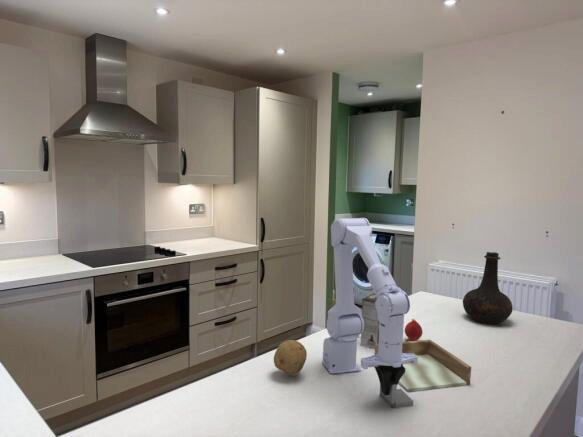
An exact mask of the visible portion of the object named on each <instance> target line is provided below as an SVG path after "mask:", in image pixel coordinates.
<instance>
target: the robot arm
mask: <svg viewBox="0 0 583 437" xmlns="http://www.w3.org/2000/svg"><path fill="white" fill-rule="evenodd" d="M372 234H373V228H372V227H371V224H370V221H369V220H368V219H367V218H366V217H359V218H358V217H355V218H353V217H352V218H349V217H348V218H340V217H337V218H335V219H334V221H333V222H332V224H331V225H330V241H331V242H330V243H331V247H332V248H333V255H334V256H333V259H334V280H335V284H334V285H335V305H333V306H332V307H331V308H330V309H329V310H328V311H327V320H326V331H327V333H328V335H329V337H325V338H324V340H323V347H322V348H323V349H322V350H323V351H322V360H321V362H322V363H323V364H322V365H324V367H325V368H326V370H327V371H328V372H329V373H330V374H331V375H332V374H334V375H335V374H341V373H342V374H343V373H350V372H361V371H362V369H363V370H368V368H374V370H375V372H376V374H377V377H378V380H379V387H380V386H381V392H382V393H383V394H384V395H388V389H389V380H390V378H391V379H392V380H393V381H394V382H395V383H396V384H397V386H398V385H399V383H398V382H399V380H400V379H401V377H402V376H403V374H404V373H405V368H404V367H403V364H408V363H413V364H417V362H418V356H416V355H415V354H414V353H412V354H406V353H402V344H403V342H404V341H403V340H404V339H403V338H404V322H405V315H407V314H408V313H409V311H410V310H411V309H410V308H411V302H410V298H409V295H408V294H407V293H406V292H405V291H404V290H403V289H401V287H399V286H398V285H397V283H396V282H395V280H394V278H393V275H392V274H391V271H390V270H389V268H388V266H387V265H385V264H382V263H381V260H380V258H379V255H378V253H377V250H376V247H375V245H374V242H373V240H372ZM355 248H356V249H357V252H358V253H359V255H360V257H361V258H362V260H363V262H364V264H365V265H366V267H367V269H368V271H367V273H366V278H367V280H368V281H369V282H368V283H369V284H370V286H371V288H372V290H373V294H374V293H375V295H376V297H377V301H375V306H376V310H377V313H378V321H379V322H380V324H379V344H378V354H376V355H374V354H373V355H370V356H367V357H361V358H360V366H361V367H360V366H359V365H358V364H357V352H358V351H357V349H358V348H357V347H358V339H359V338H360V336H361V333H362V332H363V330H364V321H363V318H362V309H360V308H359V307H358V306H357V305H355V296H354V294H355V292H354V289H355V288H354V271H353V270H354V269H353V250H354V249H355Z"/></svg>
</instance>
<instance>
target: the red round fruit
mask: <svg viewBox="0 0 583 437" xmlns="http://www.w3.org/2000/svg"><path fill="white" fill-rule="evenodd" d="M404 333H405V336H406V337H407V338H408V340H409V341H419V339H421V337H422V335H423V328H422V327H421V324H420V323H419V322H418V321H416V319H415V318H412V319H411V321H409V322H407V324H406V325H405V327H404Z"/></svg>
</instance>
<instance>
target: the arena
mask: <svg viewBox="0 0 583 437" xmlns="http://www.w3.org/2000/svg"><path fill="white" fill-rule="evenodd" d="M402 353H406V354H412V353H414V354H415V355H416V356H418V362H417V364H413V363H408V364H403V367H404V368H405V373H404V374H403V376H402V377H401V379H400V380H399V382H398V385H399V386H401V388H402V389H404V390H405V391H406V392H407V393H412V392H420V391H427V390H436V389H444V388H452V387H454V388H455V387H461V386H469V385H471V375H472V366H470V365H469V364H467V363H466V362H464V360H461V359H460V358H458V356H455V355H454V354H453V353H451V352H449V351H448V350H446V349H445V348H443V347H442V346H440V345H439V344H437V343H436V342H434V341H433V340H431V339H423V340H422V339H421V340H416V341H411V340H409V341H403V344H402ZM376 354H378V344H375V349H374V354H373V355H376Z"/></svg>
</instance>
